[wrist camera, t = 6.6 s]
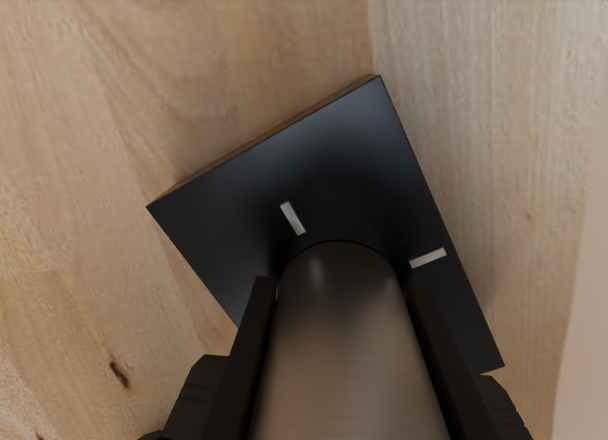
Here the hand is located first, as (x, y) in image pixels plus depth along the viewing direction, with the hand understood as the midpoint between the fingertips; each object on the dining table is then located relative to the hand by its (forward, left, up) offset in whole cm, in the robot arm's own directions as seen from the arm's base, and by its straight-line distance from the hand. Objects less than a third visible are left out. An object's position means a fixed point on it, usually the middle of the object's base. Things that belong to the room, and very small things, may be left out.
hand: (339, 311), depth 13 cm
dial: (0, 0, -1) cm, 1 cm away
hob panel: (0, 0, -4) cm, 4 cm away
